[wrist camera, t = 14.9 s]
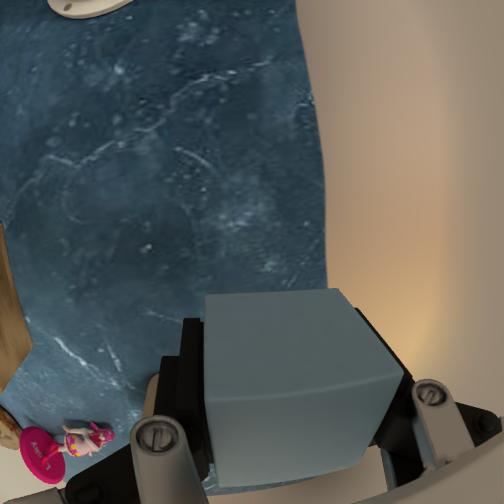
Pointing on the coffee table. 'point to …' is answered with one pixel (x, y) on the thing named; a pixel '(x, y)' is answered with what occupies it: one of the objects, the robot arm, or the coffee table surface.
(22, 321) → the cabinet
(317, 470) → the block
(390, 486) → the robot arm
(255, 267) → the coffee table surface
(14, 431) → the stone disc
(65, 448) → the figurine
